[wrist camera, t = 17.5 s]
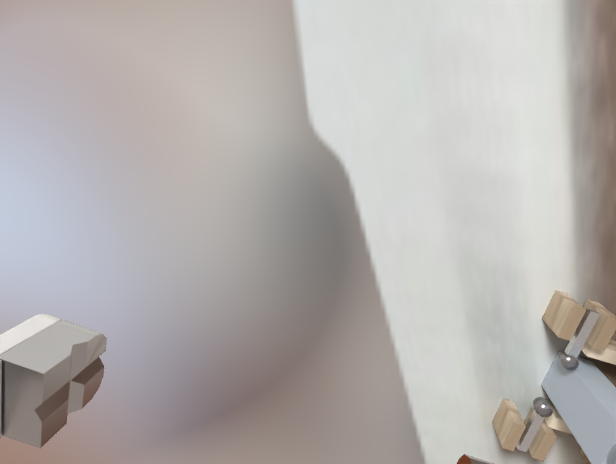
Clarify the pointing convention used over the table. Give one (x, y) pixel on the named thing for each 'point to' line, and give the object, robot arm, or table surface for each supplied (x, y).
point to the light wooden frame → (508, 421)
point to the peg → (585, 407)
